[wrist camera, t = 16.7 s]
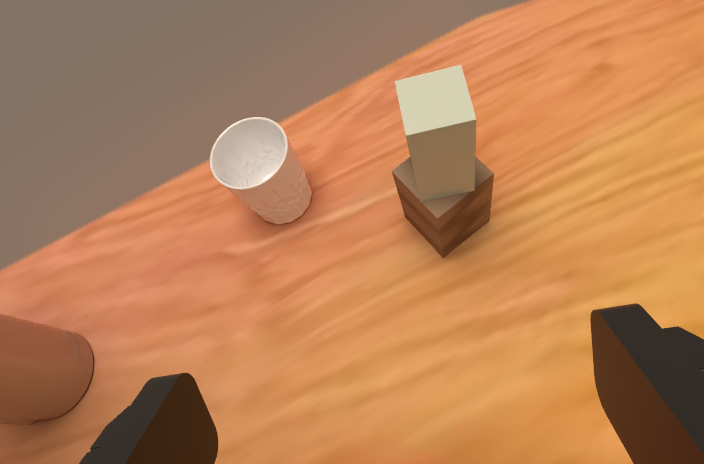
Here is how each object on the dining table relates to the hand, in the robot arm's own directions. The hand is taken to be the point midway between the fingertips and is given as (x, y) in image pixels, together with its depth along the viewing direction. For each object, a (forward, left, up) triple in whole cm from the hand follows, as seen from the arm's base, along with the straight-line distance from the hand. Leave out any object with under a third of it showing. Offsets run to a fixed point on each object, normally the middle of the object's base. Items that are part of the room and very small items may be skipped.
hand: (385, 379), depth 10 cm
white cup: (+1, +29, -37) cm, 47 cm away
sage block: (+12, +15, -27) cm, 33 cm away
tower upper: (+12, +15, -32) cm, 37 cm away
